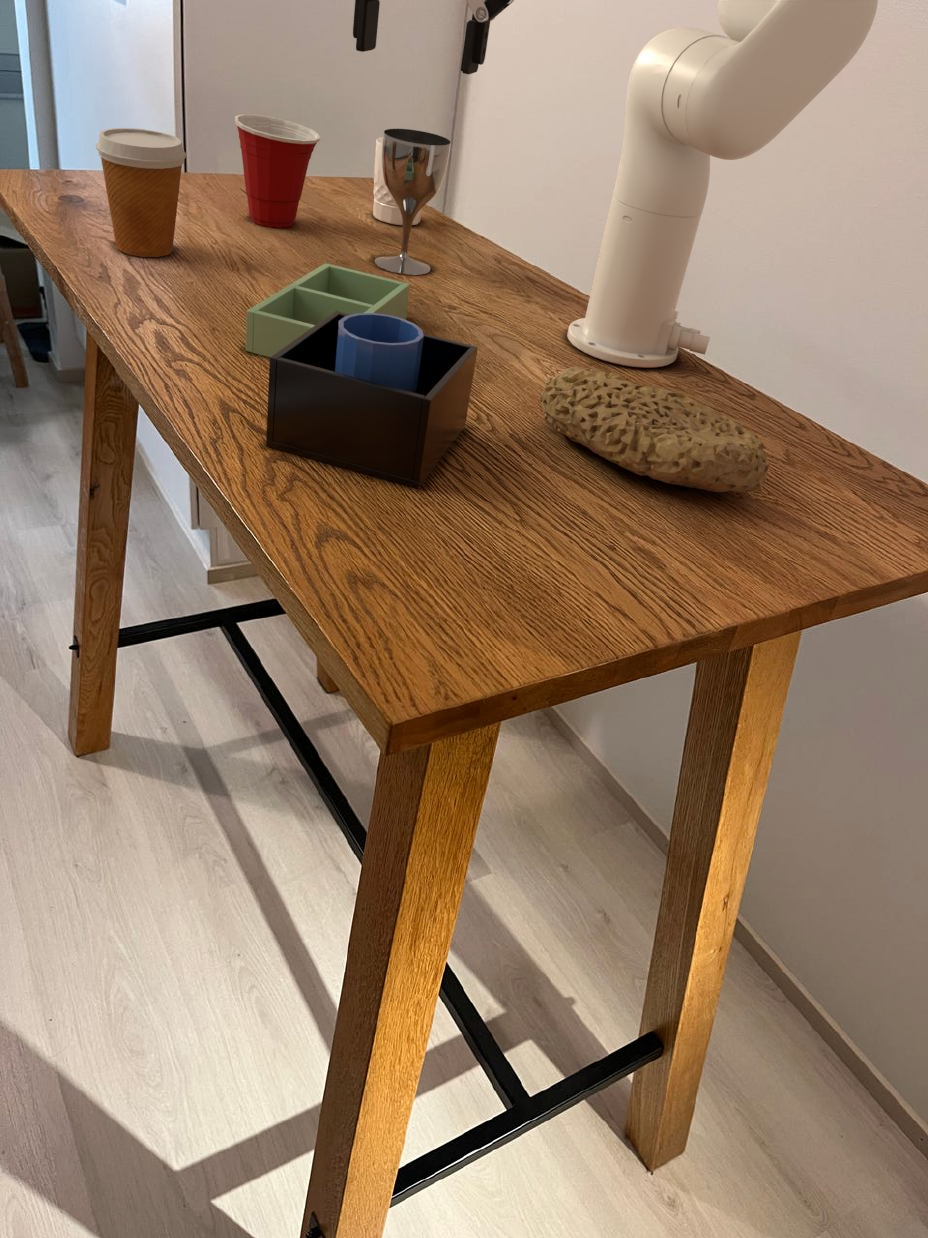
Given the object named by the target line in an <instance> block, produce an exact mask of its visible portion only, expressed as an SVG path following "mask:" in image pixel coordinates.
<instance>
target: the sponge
mask: <svg viewBox="0 0 928 1238" xmlns="http://www.w3.org/2000/svg"><path fill="white" fill-rule="evenodd" d="M544 384H545V386H544V388H543V389H542V391H541V393H540V404H541V408H542V412H543V414H544V416H543V418H544V419H545V421H546V422H547V423H548V424H550V425H551V427H552V428H553V429H554V430H555V431H557V432H558V433H560V434H562V435H564V436H566V437H568V439H569V440H570V441H572V442H574V443H579V444H580V445H582V446H583V447H586V448H587V449H589V450H590V451H592V453H594V454H597V455H599V456H600V457H602V458H604V459H605V460H607V461H609V462H611V463H613V464H615V465H618V466H619V467H621V468H623V469H625V470H627V471H628V472H631V473H634V474H636V475H639V476H641V477H644V476H645V477H646V476H648V477H649V479H652V480H657V481H659V482H663V483H664V484H668V485H669V484H670V485H676V486H682V487H686V488H694V489H699V490H704V491H708V492H713V493H725V492H733V493H750V492H757V491H759V490H760V489H761V488H762V486H763V485H764V482H765V481H766V480H767V478H768V472H769V467H770V465H771V463H770V462H769V461H768V460H767V458H768V452H767V451H766V449H767V447H766V446H765V445H764V443H763V441H762V439H761V438H760V437H759V436H758V435H756V434H755V433H754V432H753V433H752V432H751V431H749V430H748V429H747V428H745V427H744V426H743V425H742V424H741V422H740V423H738V422H736V421H735V420H733V419H731V418H729V417H728V416H726V415H724V414H723V413H721V412H718V411H716V410H715V409H713V408H711V407H710V406H708V405H706V404H705V403H703V402H701V401H699V400H696V399H693V398H691V397H689V396H687V395H685V394H683V393H681V392H678V391H677V392H675V391H672V390H668V389H665V388H661V387H658V386H655V385H648V384H634V383H633V382H630V381H627V380H626V378H625V376H622V374H619V373H617V372H610V373H606V371H599V370H596V369H593V368H589V367H587V368H585V367H581V366H579V365H573V366H571V367H568V368H562V370H561V373H557V374H555V376H554V377H553V378H552V377H551V376H549V377H548V378H547V379H546V381H545V382H544Z"/></svg>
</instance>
